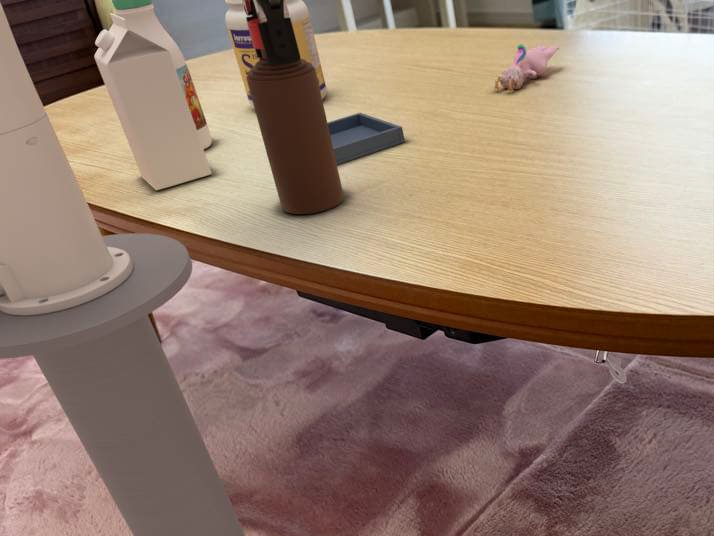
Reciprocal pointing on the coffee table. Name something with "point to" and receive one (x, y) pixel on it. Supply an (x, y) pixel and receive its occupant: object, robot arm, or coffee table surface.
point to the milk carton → (150, 106)
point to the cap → (255, 33)
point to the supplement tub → (247, 52)
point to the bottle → (295, 135)
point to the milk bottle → (141, 19)
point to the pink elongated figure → (526, 66)
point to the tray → (362, 136)
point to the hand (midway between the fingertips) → (278, 57)
